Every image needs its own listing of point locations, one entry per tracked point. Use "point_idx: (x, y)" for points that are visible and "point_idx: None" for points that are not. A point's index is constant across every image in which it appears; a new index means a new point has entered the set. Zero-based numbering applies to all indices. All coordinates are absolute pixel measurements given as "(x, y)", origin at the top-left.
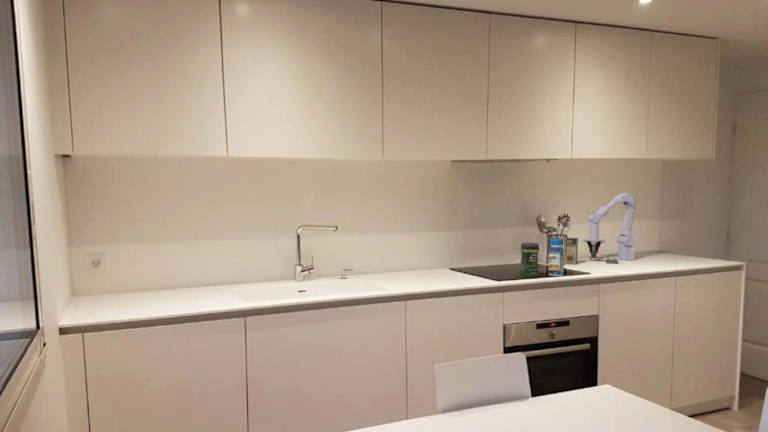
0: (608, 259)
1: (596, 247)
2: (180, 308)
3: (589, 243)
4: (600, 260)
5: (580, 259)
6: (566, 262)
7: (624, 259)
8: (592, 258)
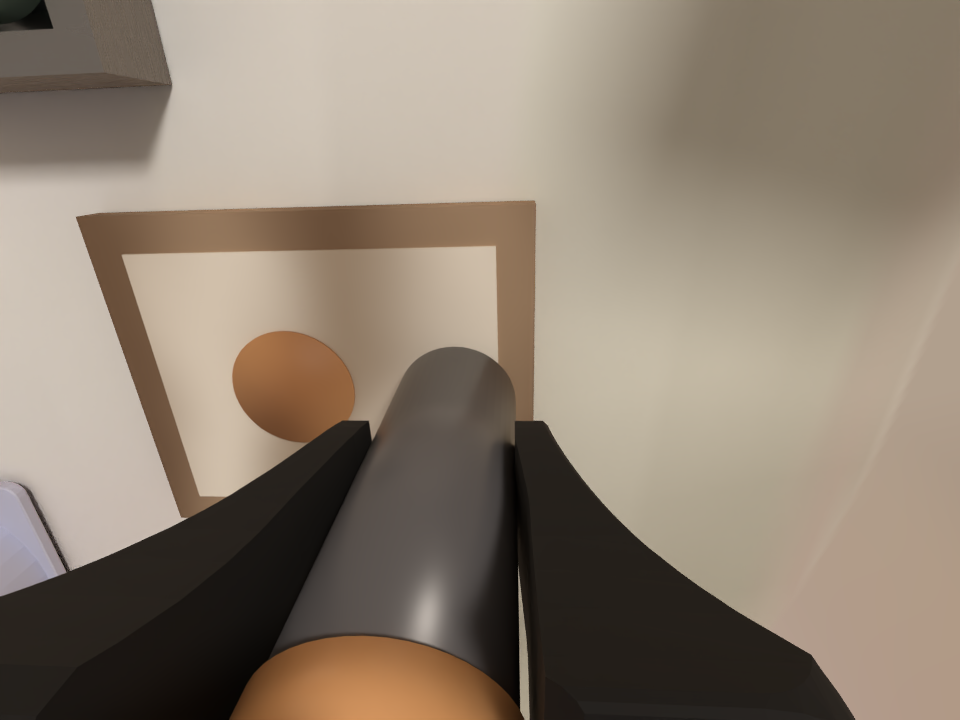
0: (50, 33)
1: None
2: None
3: (708, 685)
4: (308, 208)
5: (742, 348)
6: None
7: None
8: None
